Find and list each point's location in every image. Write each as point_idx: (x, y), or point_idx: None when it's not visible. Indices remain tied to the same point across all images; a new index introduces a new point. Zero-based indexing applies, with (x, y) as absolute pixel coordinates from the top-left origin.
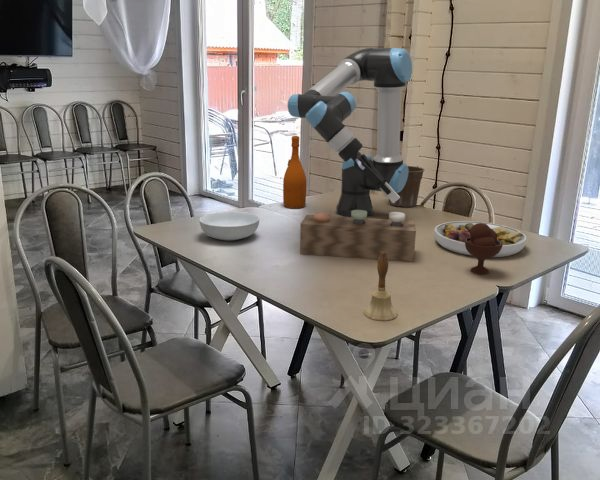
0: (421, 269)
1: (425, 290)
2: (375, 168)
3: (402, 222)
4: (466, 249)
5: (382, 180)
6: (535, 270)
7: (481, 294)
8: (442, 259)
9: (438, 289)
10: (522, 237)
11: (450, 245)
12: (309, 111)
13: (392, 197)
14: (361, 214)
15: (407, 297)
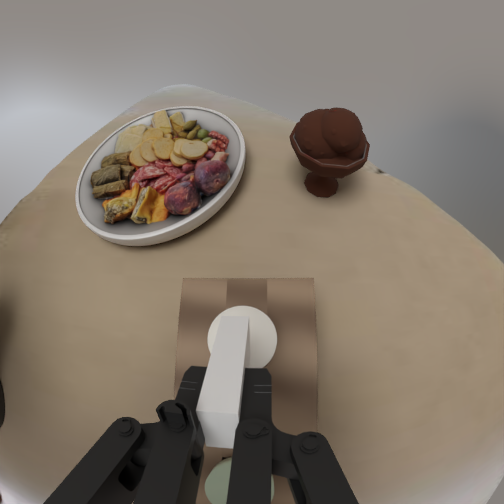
0: (348, 288)
1: (446, 279)
2: (57, 494)
3: (208, 322)
4: (342, 177)
5: (268, 449)
6: (285, 120)
7: (422, 198)
8: (265, 241)
9: (434, 257)
10: (175, 111)
11: (211, 214)
12: None
13: (247, 359)
14: (271, 480)
15: (477, 305)
